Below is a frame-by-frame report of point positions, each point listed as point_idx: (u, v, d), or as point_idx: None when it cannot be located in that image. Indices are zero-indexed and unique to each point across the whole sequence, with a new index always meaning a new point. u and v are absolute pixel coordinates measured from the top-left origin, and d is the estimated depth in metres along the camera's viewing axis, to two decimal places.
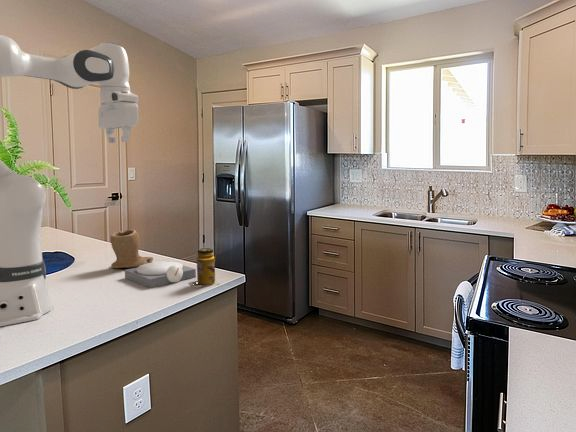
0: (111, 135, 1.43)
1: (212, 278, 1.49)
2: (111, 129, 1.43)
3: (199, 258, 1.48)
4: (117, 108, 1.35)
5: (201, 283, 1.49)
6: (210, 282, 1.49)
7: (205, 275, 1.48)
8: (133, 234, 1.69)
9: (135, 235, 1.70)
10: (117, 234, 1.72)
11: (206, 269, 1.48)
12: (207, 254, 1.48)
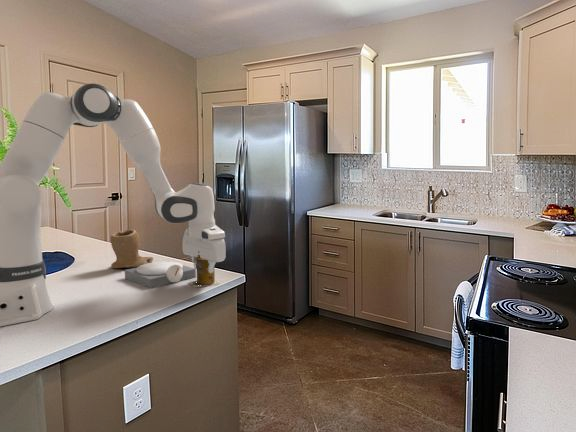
0: None
1: (212, 278, 1.50)
2: None
3: (199, 258, 1.48)
4: (205, 243, 1.45)
5: (201, 283, 1.49)
6: (210, 282, 1.49)
7: (205, 275, 1.48)
8: (133, 234, 1.69)
9: (135, 235, 1.70)
10: (117, 234, 1.72)
11: (205, 269, 1.48)
12: None
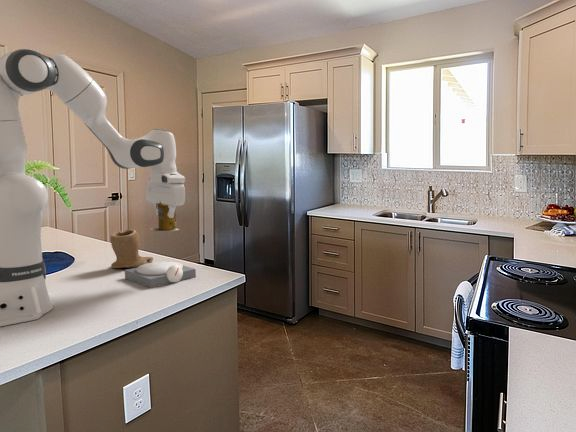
0: None
1: (173, 224, 1.53)
2: None
3: (160, 204, 1.52)
4: (166, 188, 1.49)
5: (162, 228, 1.52)
6: (170, 227, 1.53)
7: (165, 220, 1.52)
8: (133, 234, 1.69)
9: (135, 235, 1.70)
10: (117, 234, 1.72)
11: (166, 214, 1.52)
12: None
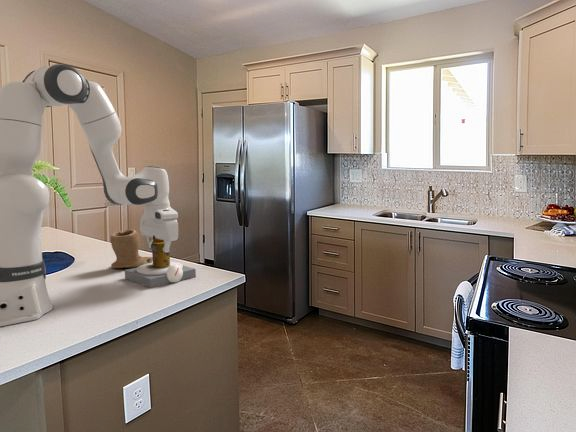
0: (151, 241, 1.61)
1: (166, 261, 1.57)
2: (152, 236, 1.61)
3: (154, 242, 1.55)
4: (159, 224, 1.52)
5: (156, 266, 1.56)
6: (164, 265, 1.56)
7: (159, 258, 1.55)
8: (133, 234, 1.69)
9: (135, 235, 1.70)
10: (117, 234, 1.72)
11: (160, 252, 1.55)
12: None
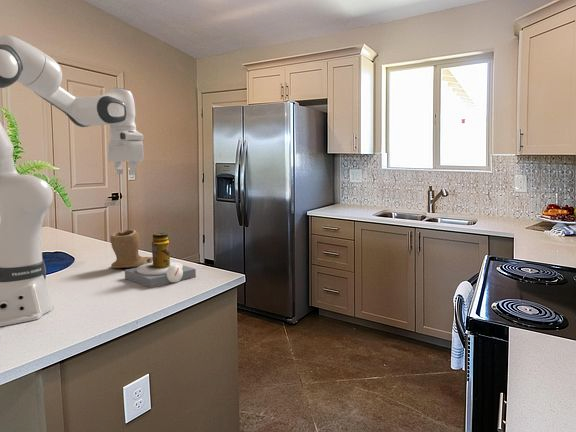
0: (119, 167, 1.62)
1: (166, 261, 1.57)
2: (119, 162, 1.62)
3: (154, 242, 1.55)
4: (125, 145, 1.53)
5: (156, 266, 1.56)
6: (164, 265, 1.56)
7: (159, 258, 1.55)
8: (133, 234, 1.69)
9: (135, 235, 1.70)
10: (117, 234, 1.72)
11: (160, 252, 1.55)
12: (161, 238, 1.55)
